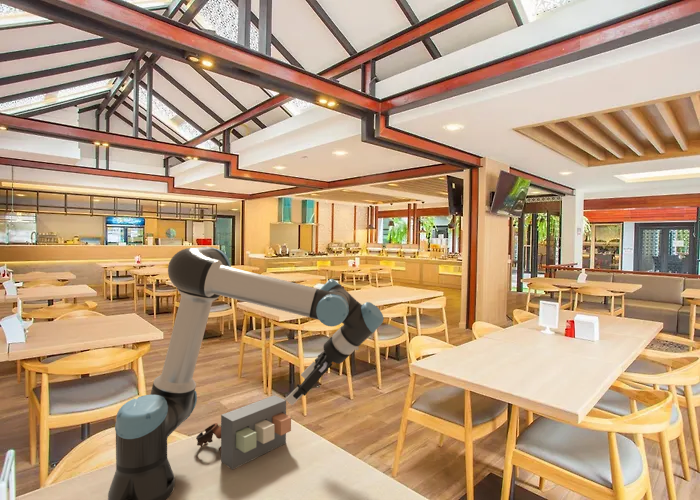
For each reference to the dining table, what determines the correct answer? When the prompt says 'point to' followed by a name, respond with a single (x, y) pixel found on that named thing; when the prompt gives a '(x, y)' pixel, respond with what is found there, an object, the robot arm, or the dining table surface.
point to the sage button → (245, 439)
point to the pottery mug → (209, 435)
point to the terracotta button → (281, 423)
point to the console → (248, 419)
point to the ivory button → (264, 431)
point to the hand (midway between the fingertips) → (296, 388)
